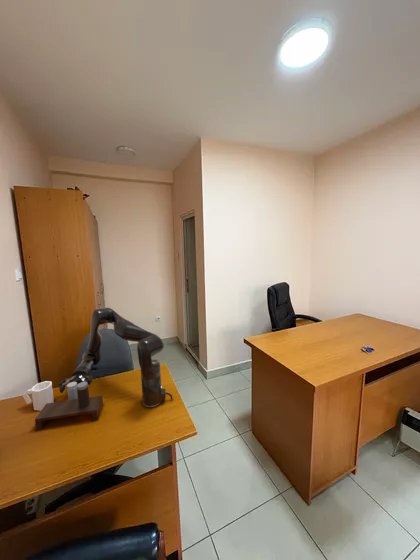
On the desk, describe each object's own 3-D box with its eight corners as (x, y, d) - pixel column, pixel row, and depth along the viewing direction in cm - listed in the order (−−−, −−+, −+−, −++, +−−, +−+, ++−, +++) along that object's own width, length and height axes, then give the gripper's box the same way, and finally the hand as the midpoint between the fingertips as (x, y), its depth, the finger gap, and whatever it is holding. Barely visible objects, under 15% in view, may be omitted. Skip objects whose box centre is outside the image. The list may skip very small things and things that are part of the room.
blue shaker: (80, 399, 114) (78, 381, 113) (77, 405, 110) (75, 386, 109) (70, 400, 113) (68, 382, 112) (67, 406, 109) (65, 387, 108)
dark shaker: (90, 400, 105) (88, 380, 104) (88, 407, 101) (85, 386, 100) (80, 402, 105) (78, 382, 103) (77, 408, 100) (75, 388, 99)
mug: (57, 397, 116) (54, 379, 114) (50, 408, 108) (47, 389, 106) (29, 401, 113) (27, 383, 111) (20, 413, 104) (17, 394, 103)
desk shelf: (103, 404, 110) (102, 395, 109) (97, 419, 100) (96, 409, 99) (47, 413, 105) (46, 403, 104) (36, 429, 95) (34, 419, 94)
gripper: (67, 367, 122) (53, 384, 106) (95, 364, 125) (86, 380, 109) (68, 380, 123) (55, 399, 108) (96, 376, 126) (87, 394, 111)
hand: (71, 389), depth 109 cm, fingers open, 8 cm apart
